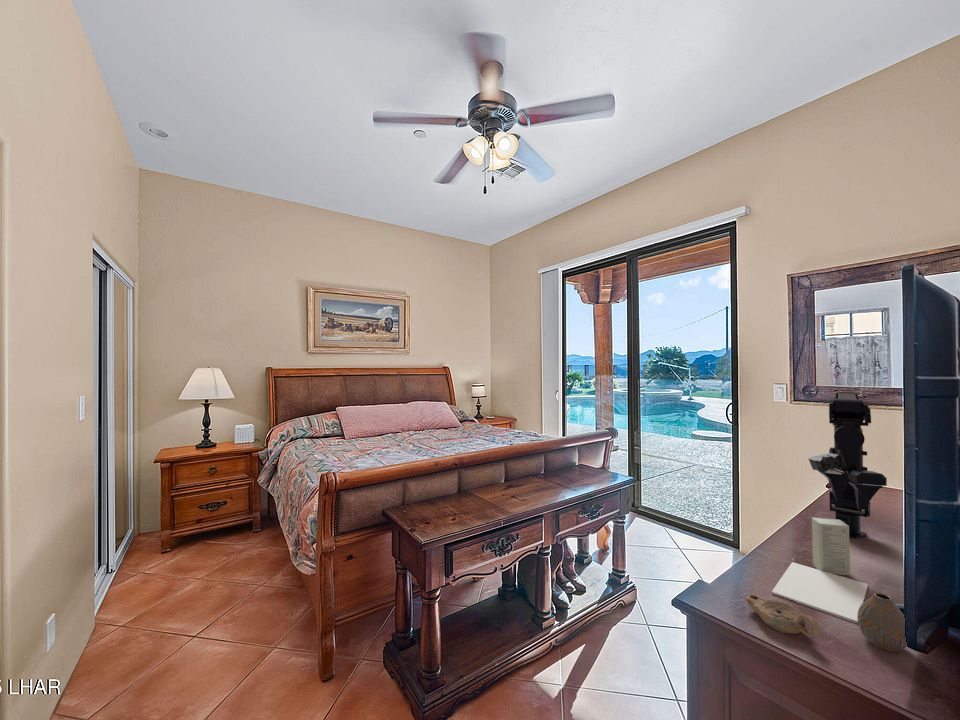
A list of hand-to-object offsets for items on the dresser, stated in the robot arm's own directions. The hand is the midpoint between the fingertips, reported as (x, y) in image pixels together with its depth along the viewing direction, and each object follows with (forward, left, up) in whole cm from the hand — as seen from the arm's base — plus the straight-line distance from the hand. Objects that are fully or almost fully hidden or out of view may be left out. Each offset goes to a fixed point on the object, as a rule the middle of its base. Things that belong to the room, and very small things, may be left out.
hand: (848, 504), depth 108 cm
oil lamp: (+48, +13, -14) cm, 51 cm away
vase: (+36, +23, -14) cm, 45 cm away
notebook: (+26, +8, -14) cm, 30 cm away
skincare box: (+14, +3, -14) cm, 20 cm away
